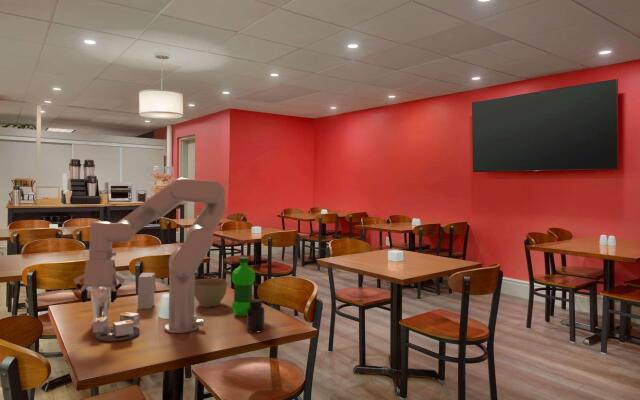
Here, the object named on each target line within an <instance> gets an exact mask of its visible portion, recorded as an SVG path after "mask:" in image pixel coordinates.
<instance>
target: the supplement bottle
mask: <svg viewBox="0 0 640 400" xmlns="http://www.w3.org/2000/svg"><path fill="white" fill-rule="evenodd" d="M249 305H250V307H248V309H247V316H246V331H247V330H248V331H251V332H257V331H262V330H264V331H265V308H264V306H263V300H262V299H260V298H252V300H250V304H249ZM248 331H247V332H248ZM262 332H263V331H262Z"/></svg>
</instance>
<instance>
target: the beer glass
mask: <svg viewBox="0 0 640 400" xmlns="http://www.w3.org/2000/svg"><path fill="white" fill-rule="evenodd" d="M90 293H91V294H90V295H91V297H90V303H91V309H92V313H93V314H92V315H93V318H92V324H91V325H92V326H93V321H94V320H95V319H96V318H97V317H104V316H108V317H109V309H110V306H111V288H110V287H109V286H108V287H95V286H91V292H90ZM109 324H110V320H109V318H108V325H109Z"/></svg>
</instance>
